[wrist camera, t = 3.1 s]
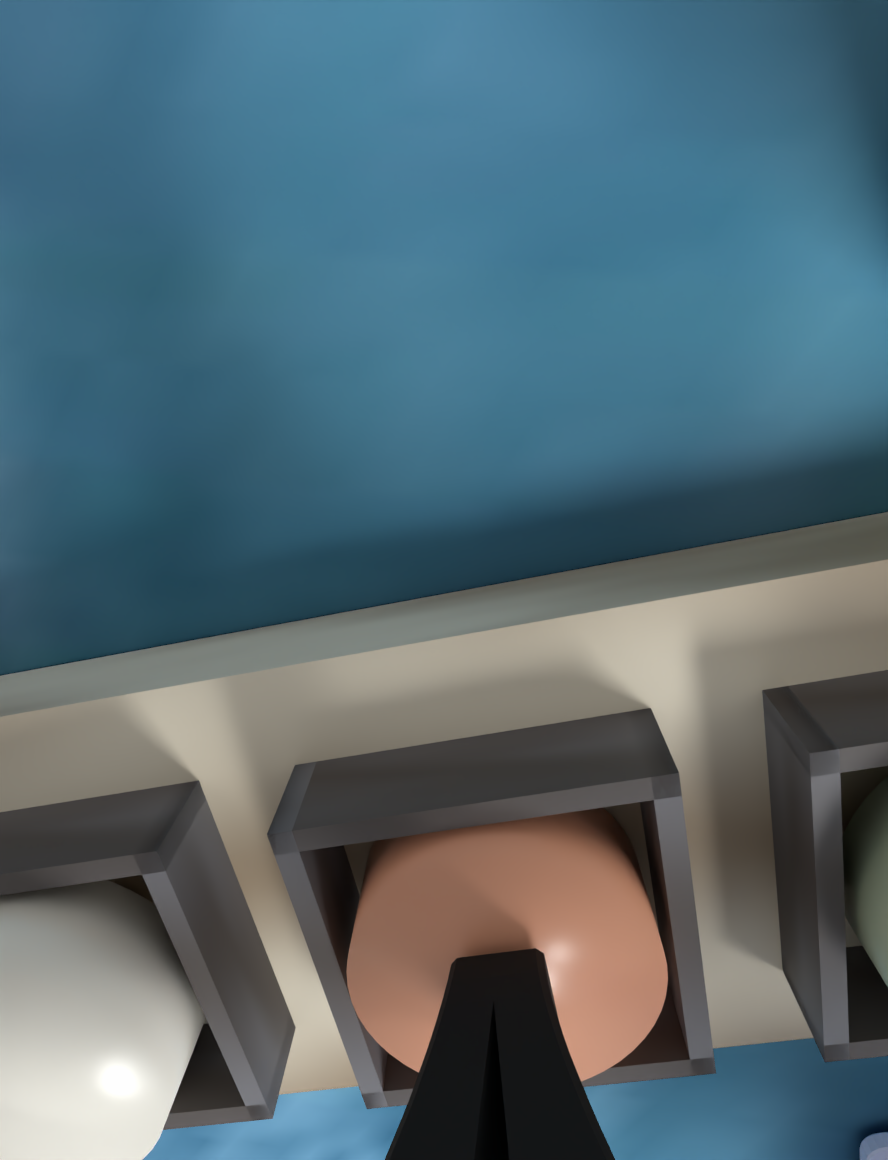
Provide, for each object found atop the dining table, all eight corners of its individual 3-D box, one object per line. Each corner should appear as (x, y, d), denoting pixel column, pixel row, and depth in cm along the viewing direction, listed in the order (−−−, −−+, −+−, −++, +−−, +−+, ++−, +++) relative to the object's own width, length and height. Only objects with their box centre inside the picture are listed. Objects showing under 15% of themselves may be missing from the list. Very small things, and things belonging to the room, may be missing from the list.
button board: (1115, 913, 15) (1306, 1093, 12) (50, 1040, 18) (-53, 1216, 15) (1174, 458, 12) (1464, 520, 9) (-139, 701, 15) (-331, 822, 11)
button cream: (245, 1057, 14) (208, 1173, 12) (9, 1083, 14) (-61, 1198, 13) (155, 850, 12) (97, 948, 10) (-106, 889, 13) (-208, 989, 11)
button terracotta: (655, 972, 14) (683, 1077, 12) (400, 1002, 14) (388, 1107, 12) (621, 751, 12) (648, 832, 10) (334, 795, 13) (308, 880, 11)
